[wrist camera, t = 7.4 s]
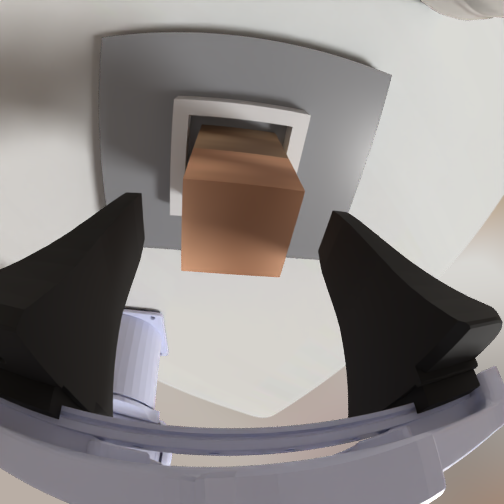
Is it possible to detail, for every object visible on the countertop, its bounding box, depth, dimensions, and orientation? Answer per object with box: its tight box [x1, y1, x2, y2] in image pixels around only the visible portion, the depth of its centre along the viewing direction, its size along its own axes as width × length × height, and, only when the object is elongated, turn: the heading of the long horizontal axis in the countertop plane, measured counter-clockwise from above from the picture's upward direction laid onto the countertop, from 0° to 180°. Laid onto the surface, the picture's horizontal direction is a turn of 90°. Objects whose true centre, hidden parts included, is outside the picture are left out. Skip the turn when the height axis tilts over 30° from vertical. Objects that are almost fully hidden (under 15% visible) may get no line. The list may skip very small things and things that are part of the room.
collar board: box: [99, 32, 392, 260], centre depth 15 cm, size 16×14×3 cm
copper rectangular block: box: [181, 125, 305, 277], centre depth 13 cm, size 4×4×7 cm
